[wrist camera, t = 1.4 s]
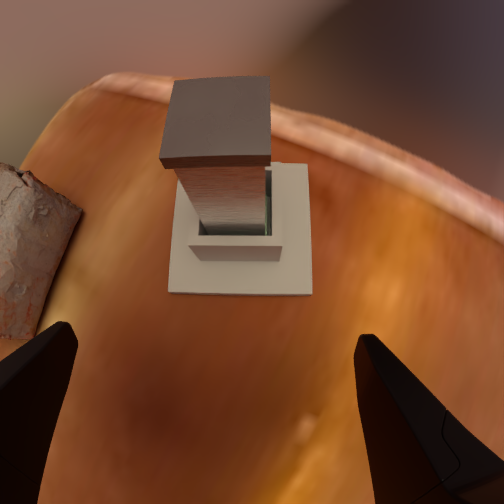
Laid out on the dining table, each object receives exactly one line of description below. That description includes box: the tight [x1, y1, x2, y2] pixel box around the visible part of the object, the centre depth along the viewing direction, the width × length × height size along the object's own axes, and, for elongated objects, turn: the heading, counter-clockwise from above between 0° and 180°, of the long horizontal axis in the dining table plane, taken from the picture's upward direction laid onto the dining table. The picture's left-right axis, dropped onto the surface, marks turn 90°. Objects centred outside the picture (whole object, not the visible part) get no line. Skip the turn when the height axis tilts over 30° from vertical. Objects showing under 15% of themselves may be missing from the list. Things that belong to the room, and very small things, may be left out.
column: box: [159, 76, 271, 236], centre depth 17 cm, size 4×4×12 cm
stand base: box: [168, 162, 312, 296], centre depth 21 cm, size 10×10×6 cm
